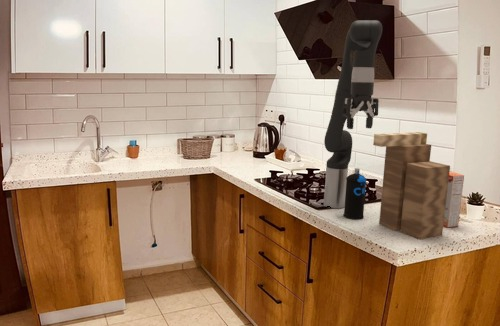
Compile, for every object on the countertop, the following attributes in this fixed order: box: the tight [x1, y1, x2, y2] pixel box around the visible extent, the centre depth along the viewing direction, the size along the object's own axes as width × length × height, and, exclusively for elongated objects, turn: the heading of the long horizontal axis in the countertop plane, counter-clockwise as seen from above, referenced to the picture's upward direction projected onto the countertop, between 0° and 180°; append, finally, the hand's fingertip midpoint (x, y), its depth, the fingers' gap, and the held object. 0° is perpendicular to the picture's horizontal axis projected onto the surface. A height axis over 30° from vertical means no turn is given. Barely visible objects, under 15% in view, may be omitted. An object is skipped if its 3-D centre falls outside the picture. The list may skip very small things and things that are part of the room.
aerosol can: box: [343, 167, 368, 220], centre depth 192 cm, size 8×8×20 cm
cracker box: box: [443, 170, 465, 228], centre depth 188 cm, size 14×6×21 cm, turn 21°
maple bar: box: [372, 131, 428, 148], centre depth 176 cm, size 23×4×4 cm, turn 119°
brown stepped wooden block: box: [378, 143, 451, 240], centre depth 177 cm, size 14×19×32 cm
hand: (359, 128), depth 164 cm, fingers open, 8 cm apart
